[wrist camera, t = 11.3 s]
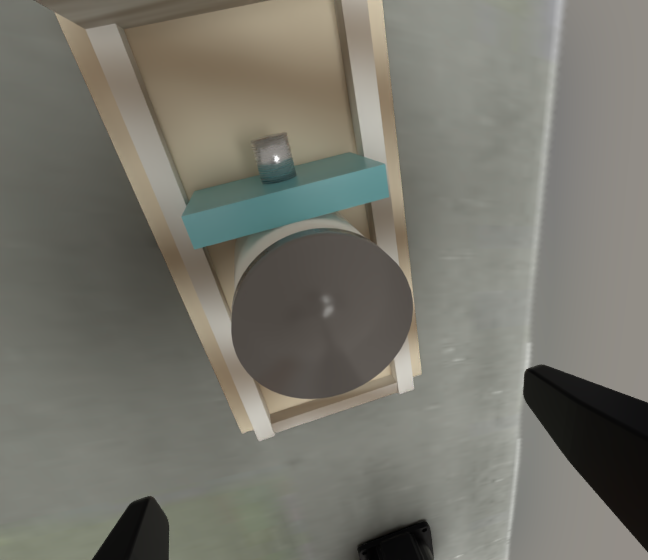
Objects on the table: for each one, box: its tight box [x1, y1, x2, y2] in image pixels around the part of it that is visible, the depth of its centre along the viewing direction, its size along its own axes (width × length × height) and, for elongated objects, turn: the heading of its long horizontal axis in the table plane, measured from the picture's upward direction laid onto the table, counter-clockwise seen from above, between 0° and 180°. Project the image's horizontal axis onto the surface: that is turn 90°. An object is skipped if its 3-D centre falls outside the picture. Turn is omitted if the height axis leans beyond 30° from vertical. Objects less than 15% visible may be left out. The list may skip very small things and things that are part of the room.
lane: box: [34, 0, 422, 441], centre depth 16 cm, size 22×12×6 cm, turn 12°
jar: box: [231, 211, 413, 399], centre depth 15 cm, size 6×6×7 cm
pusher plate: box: [181, 132, 389, 250], centre depth 14 cm, size 3×7×4 cm, turn 102°
